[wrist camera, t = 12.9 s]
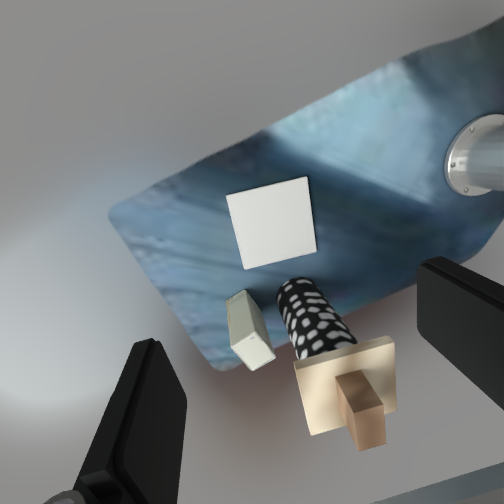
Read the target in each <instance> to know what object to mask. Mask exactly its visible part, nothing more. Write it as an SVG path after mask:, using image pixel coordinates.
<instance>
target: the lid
mask: <svg viewBox="0 0 504 504" xmlns="http://www.w3.org/2000/svg"><path fill="white" fill-rule="evenodd" d="M394 350H395V348H394V341H393V340H392V339H391V338H390V337H389V336H388V335H386V336H383V337H379V338H376V339H372V340H369V341H365V342H361V343H358V344H354V345H351V346H347V347H344V348H340V349H337V350H333V351H330V352H326V353H322V354H319V355H315V356H312V357H308V358H305V359H301V360H298V361H294V362H293V363H294V367H295V371H296V376H297V380H298V384H299V389H300V393H301V397H302V402H303V406H304V410H305V415H306V419H307V423H308V427H309V430H310V433H311V436H312V435H315V434H319V433H322V432H325V431H329V430H332V429H336V428H339V427H343V426H347V428H348V430H349V432H350V434H351V436H352V439H353V441H354V443H355V445H356V447H357V449H358V451H362V450H366V449H370V448H372V447H376V446H380V445H383V444H386V434H385V419H384V414H387V413H390V412H394V411H397V403H396V377H395V351H394Z"/></svg>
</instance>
